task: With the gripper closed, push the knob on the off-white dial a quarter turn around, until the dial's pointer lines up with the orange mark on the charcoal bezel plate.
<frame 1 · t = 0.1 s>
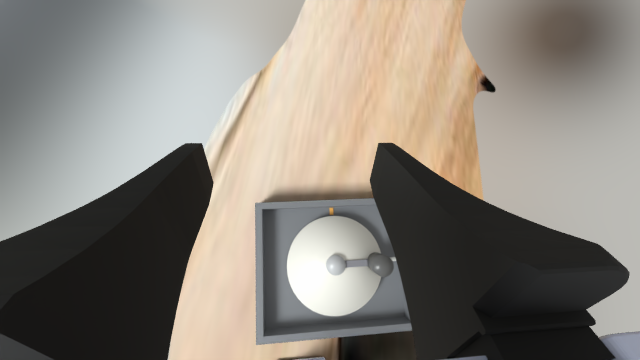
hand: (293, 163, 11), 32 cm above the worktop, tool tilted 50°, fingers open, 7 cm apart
bezel plate: (333, 261, 41), on the worktop
dial: (338, 265, 38), point 4 cm above the worktop, hinge at 0.0°
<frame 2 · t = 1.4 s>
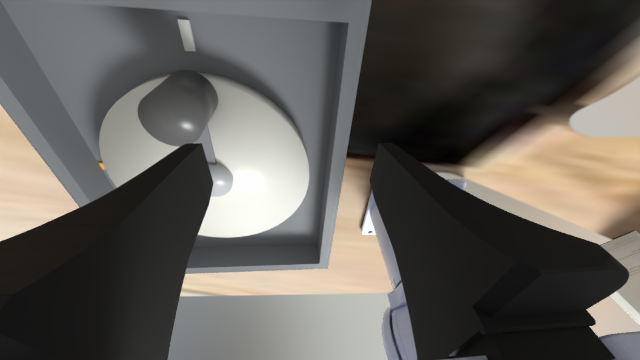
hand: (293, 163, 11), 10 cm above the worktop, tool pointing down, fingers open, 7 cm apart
supplement box: (606, 250, 37), on the worktop
bezel plate: (220, 159, 21), on the worktop
dial: (209, 184, 18), point 4 cm above the worktop, hinge at 0.0°
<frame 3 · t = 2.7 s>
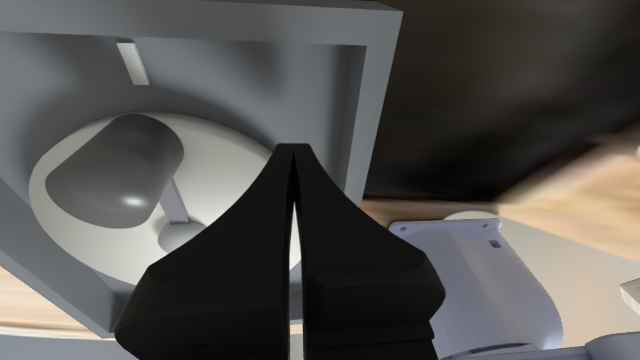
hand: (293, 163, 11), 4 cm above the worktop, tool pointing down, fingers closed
bezel plate: (200, 206, 17), on the worktop
dial: (181, 249, 14), point 4 cm above the worktop, hinge at 0.0°
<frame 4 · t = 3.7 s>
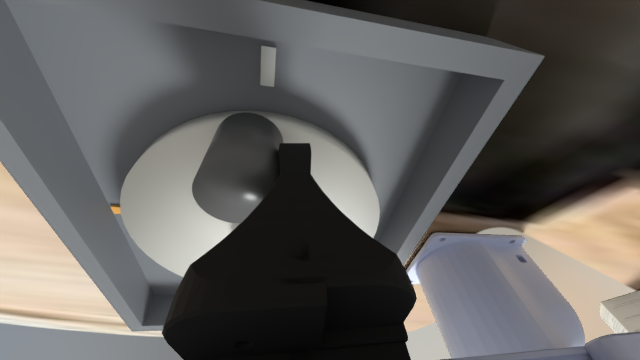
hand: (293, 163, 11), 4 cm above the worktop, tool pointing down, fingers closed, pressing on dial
supplement box: (625, 298, 37), on the worktop
bezel plate: (263, 204, 17), on the worktop
dial: (258, 245, 15), point 4 cm above the worktop, hinge at 5.3°, touching gripper
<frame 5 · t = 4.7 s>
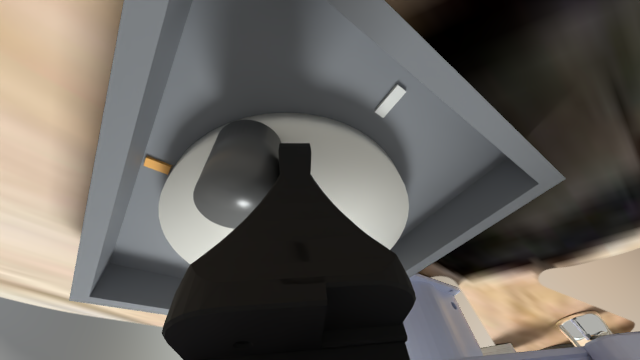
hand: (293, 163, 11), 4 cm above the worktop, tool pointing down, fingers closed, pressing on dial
supplement box: (486, 349, 48), on the worktop
beer glass: (574, 317, 40), on the worktop
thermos: (550, 350, 53), on the worktop
bezel plate: (290, 204, 18), on the worktop
dial: (289, 245, 15), point 4 cm above the worktop, hinge at 47.6°, touching gripper
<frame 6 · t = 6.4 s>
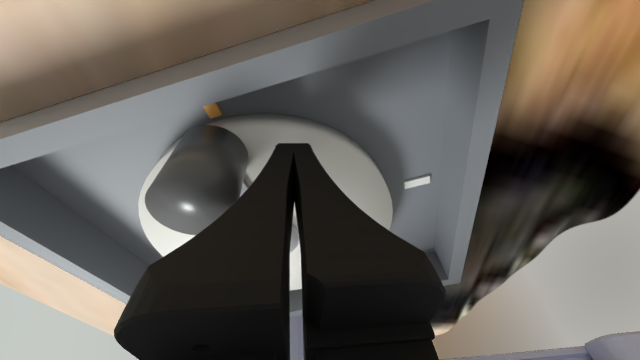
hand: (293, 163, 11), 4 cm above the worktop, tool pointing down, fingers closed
bezel plate: (276, 205, 18), on the worktop
dial: (271, 246, 15), point 4 cm above the worktop, hinge at 93.3°
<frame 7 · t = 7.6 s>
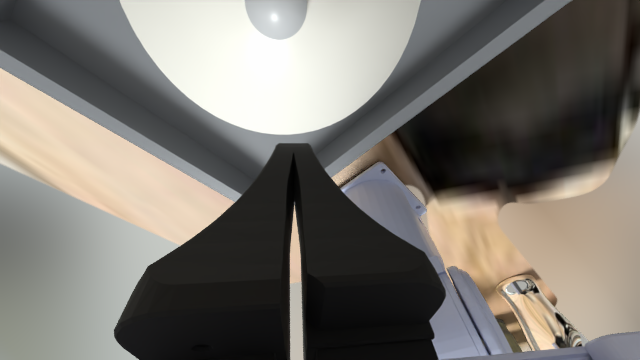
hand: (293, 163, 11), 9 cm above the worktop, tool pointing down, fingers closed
beer glass: (513, 282, 42), on the worktop
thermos: (482, 326, 56), on the worktop
dial: (271, 1, 12), point 4 cm above the worktop, hinge at 93.3°
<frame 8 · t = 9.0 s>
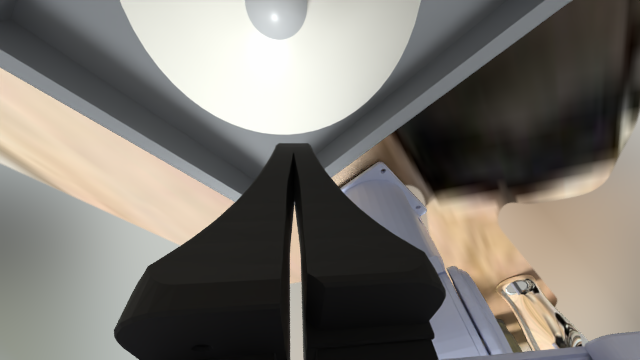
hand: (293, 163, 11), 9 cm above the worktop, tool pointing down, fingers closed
beer glass: (513, 282, 42), on the worktop
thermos: (482, 326, 56), on the worktop
dial: (271, 1, 12), point 4 cm above the worktop, hinge at 93.3°
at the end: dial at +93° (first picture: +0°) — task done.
